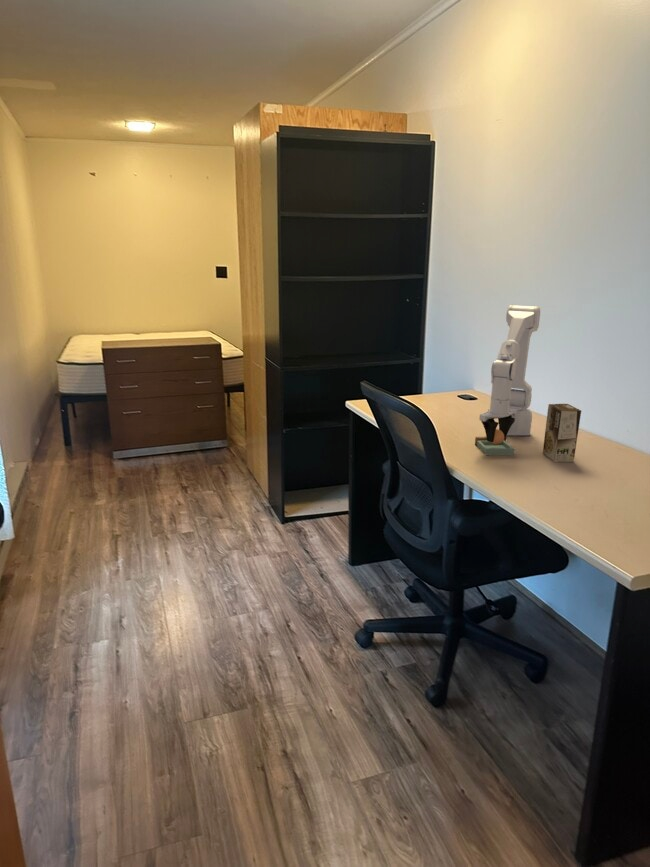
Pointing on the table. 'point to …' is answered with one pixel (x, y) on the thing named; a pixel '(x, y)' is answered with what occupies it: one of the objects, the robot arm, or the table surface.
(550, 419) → the coffee box
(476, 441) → the rail
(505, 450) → the tray
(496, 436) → the ball
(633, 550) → the table surface
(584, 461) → the table surface
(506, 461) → the table surface
